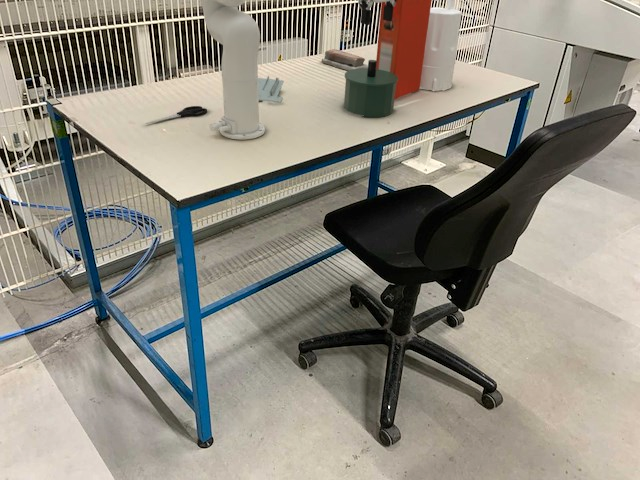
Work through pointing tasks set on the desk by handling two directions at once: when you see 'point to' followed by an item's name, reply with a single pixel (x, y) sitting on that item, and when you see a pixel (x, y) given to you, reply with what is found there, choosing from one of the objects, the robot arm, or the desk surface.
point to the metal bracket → (269, 89)
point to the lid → (371, 76)
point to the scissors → (186, 113)
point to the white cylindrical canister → (440, 47)
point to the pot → (369, 99)
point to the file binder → (404, 43)
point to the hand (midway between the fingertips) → (376, 22)
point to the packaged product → (344, 60)
